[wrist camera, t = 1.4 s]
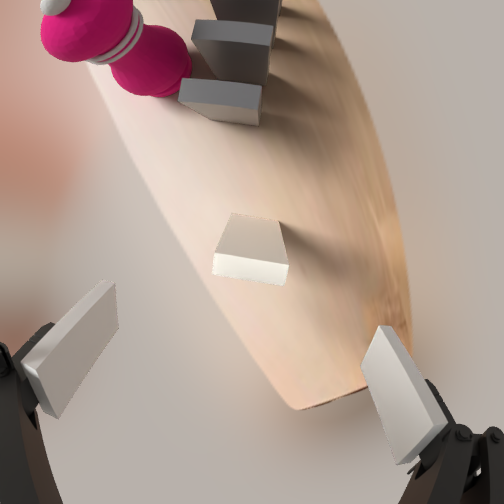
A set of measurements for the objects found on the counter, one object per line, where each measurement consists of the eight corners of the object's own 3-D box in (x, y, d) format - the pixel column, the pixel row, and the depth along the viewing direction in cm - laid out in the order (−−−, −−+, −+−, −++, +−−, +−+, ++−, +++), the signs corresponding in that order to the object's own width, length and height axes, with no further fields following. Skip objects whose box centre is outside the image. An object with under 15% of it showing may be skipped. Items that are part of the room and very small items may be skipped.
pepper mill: (197, 97, 26) (94, 26, 7) (133, 106, 26) (-9, 79, 7) (197, 38, 23) (120, -73, 5) (135, 49, 24) (17, -19, 5)
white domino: (231, 212, 30) (214, 252, 19) (278, 220, 30) (289, 265, 19) (229, 227, 31) (211, 274, 19) (275, 235, 31) (284, 286, 19)
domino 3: (212, 105, 26) (182, 77, 15) (261, 111, 26) (261, 85, 15) (210, 119, 27) (177, 101, 15) (258, 126, 27) (257, 109, 16)
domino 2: (220, 66, 25) (195, 19, 13) (268, 72, 25) (273, 25, 13) (217, 79, 25) (190, 39, 14) (266, 85, 25) (269, 45, 14)
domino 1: (228, 31, 23) (210, -27, 12) (275, 36, 23) (283, -21, 12) (225, 43, 24) (205, -12, 12) (273, 48, 24) (279, -6, 12)
